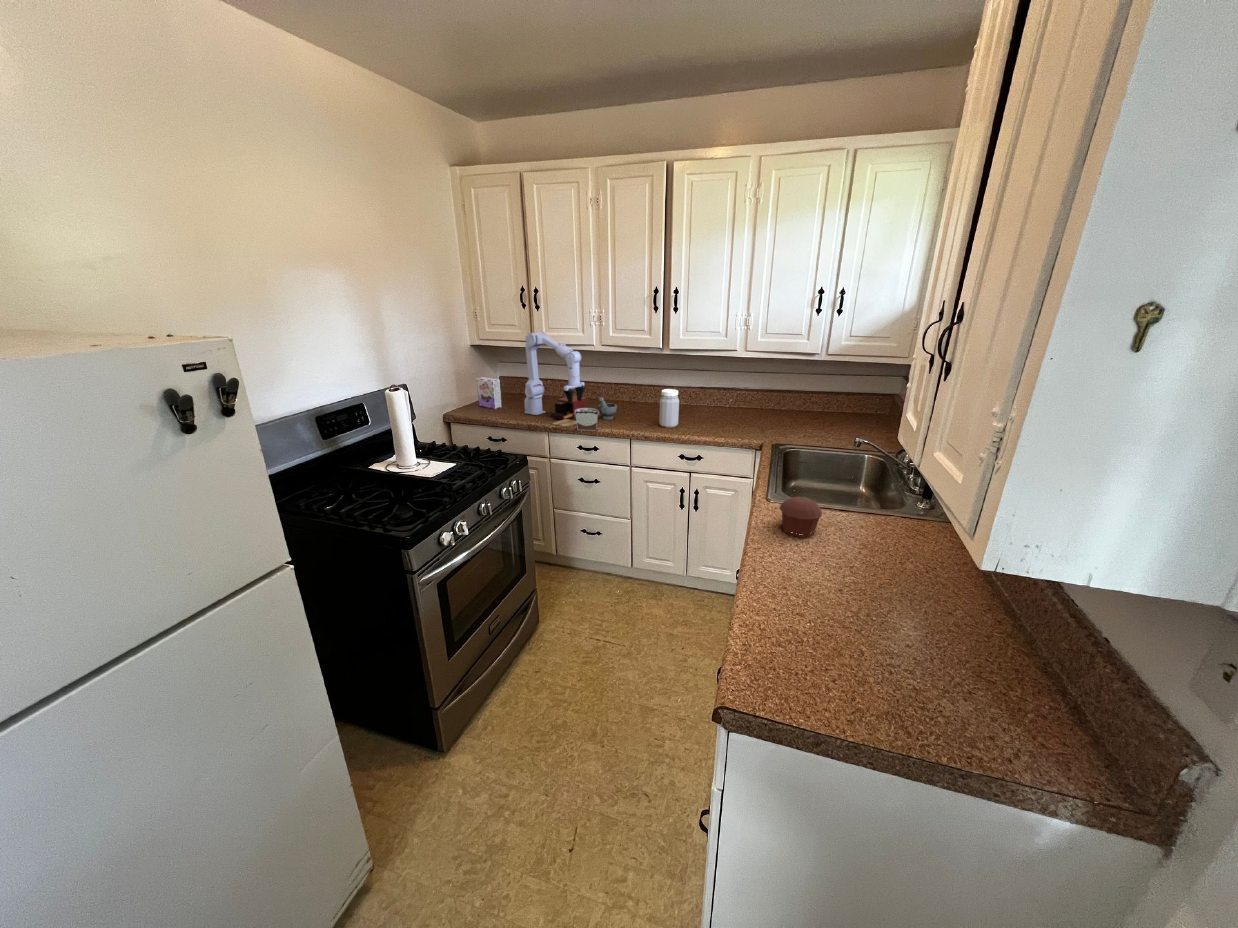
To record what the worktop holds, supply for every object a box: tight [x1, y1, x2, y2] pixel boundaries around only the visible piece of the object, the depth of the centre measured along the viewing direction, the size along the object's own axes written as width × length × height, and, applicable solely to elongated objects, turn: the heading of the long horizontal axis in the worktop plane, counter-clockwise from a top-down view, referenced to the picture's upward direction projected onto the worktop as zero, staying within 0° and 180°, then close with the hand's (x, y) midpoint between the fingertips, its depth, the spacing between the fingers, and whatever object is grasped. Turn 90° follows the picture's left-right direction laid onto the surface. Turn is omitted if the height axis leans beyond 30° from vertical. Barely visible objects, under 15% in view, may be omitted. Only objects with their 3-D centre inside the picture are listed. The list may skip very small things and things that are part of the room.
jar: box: [658, 388, 680, 429], centre depth 240 cm, size 10×10×18 cm
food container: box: [574, 407, 600, 432], centre depth 236 cm, size 12×6×10 cm, turn 84°
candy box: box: [475, 376, 503, 410], centre depth 276 cm, size 14×6×16 cm, turn 55°
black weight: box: [554, 401, 567, 416], centre depth 254 cm, size 4×4×7 cm
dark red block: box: [557, 395, 588, 419], centre depth 262 cm, size 11×12×9 cm
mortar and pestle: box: [598, 396, 618, 421], centre depth 254 cm, size 11×9×12 cm
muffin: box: [779, 496, 823, 539], centre depth 140 cm, size 12×11×10 cm
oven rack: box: [549, 411, 573, 420], centre depth 256 cm, size 9×13×3 cm
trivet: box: [551, 418, 577, 428], centre depth 247 cm, size 10×10×1 cm
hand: (574, 401), depth 248 cm, fingers open, 7 cm apart
